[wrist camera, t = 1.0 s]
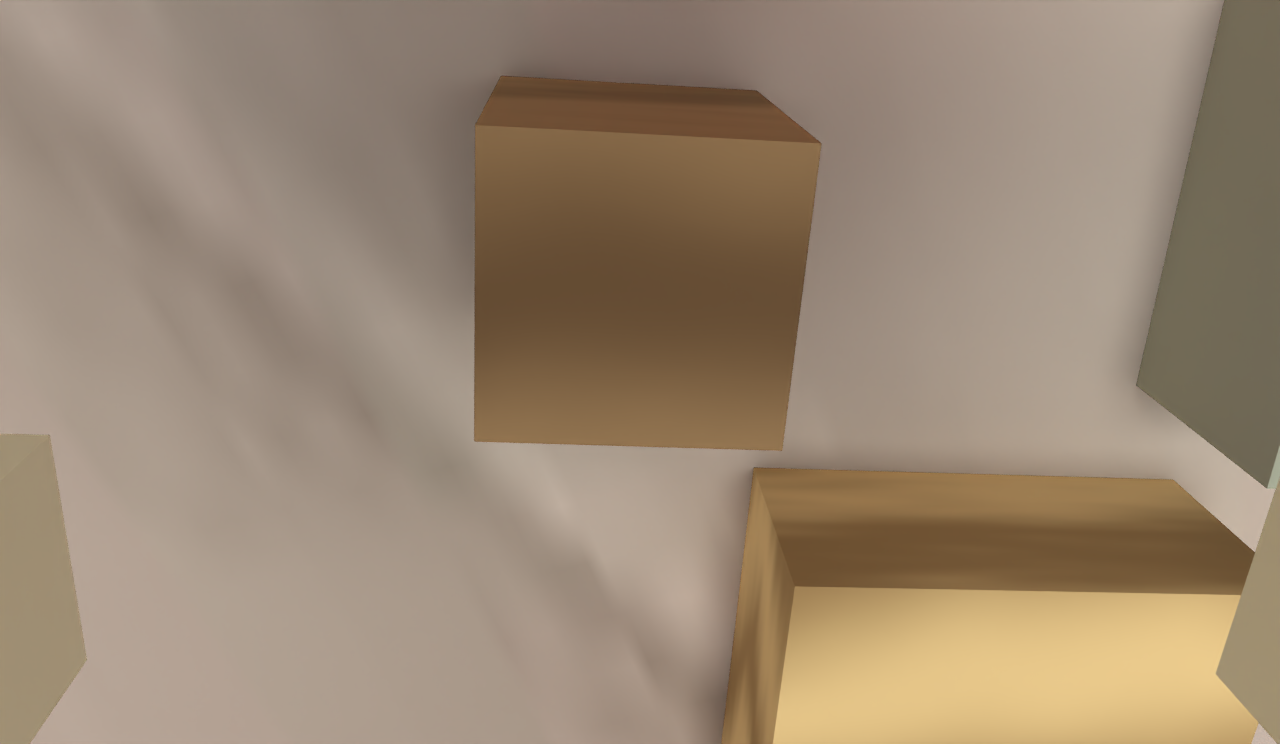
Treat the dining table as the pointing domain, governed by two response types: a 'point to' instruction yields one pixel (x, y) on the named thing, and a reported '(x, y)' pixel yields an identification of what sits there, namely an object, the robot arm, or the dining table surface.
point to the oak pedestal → (982, 612)
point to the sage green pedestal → (1227, 256)
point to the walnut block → (637, 264)
